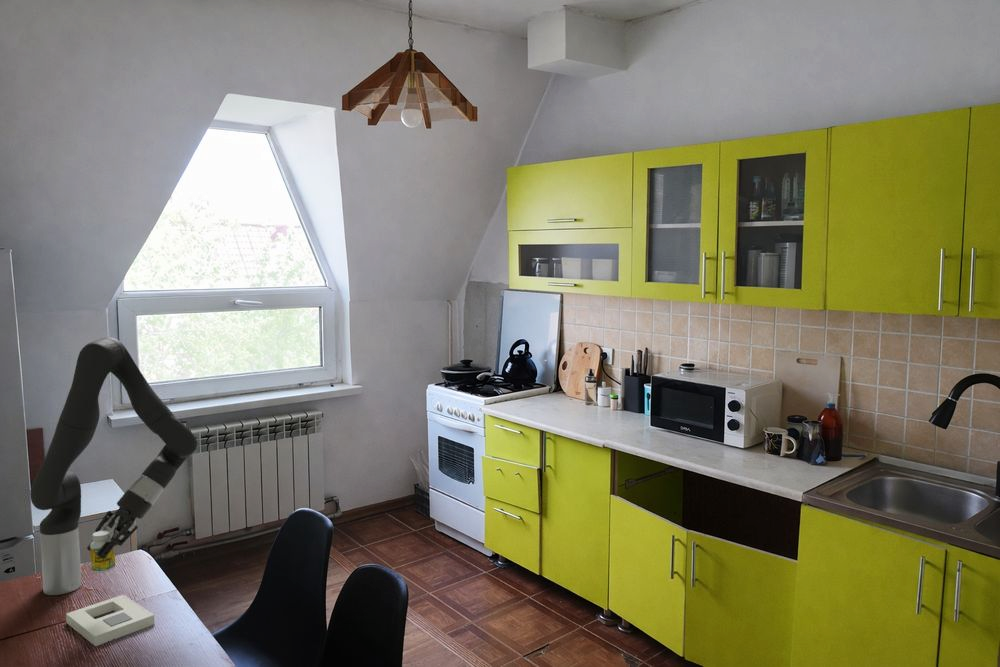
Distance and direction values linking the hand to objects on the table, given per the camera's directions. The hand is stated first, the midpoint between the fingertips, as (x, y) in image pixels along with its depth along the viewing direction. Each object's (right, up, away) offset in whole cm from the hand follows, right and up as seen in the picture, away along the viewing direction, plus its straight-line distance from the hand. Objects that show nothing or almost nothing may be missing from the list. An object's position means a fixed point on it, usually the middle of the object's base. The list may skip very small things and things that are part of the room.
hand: (95, 553), depth 181 cm
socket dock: (+4, -18, +1) cm, 18 cm away
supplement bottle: (+1, -5, +2) cm, 5 cm away
